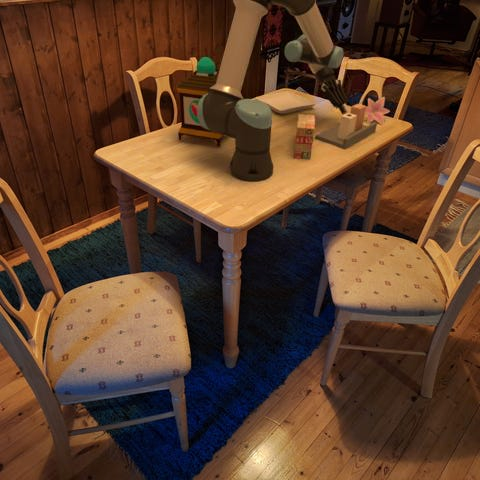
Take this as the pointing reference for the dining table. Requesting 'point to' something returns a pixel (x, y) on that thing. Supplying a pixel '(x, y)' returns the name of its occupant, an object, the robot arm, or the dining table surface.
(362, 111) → the key two
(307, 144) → the stack of blocks
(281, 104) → the salad plate
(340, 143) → the tray
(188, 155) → the dining table surface
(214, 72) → the decorative lantern
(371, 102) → the lily
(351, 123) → the key one
